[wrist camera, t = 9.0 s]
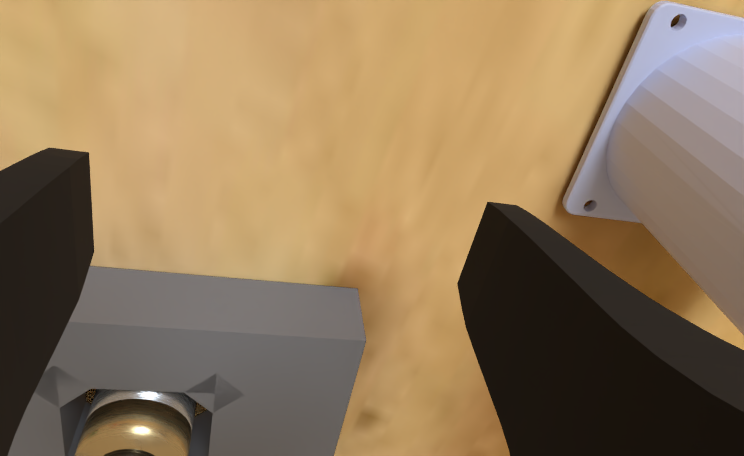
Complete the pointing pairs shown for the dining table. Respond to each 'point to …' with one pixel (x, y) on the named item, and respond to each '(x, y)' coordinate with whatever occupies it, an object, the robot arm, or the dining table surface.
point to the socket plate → (205, 361)
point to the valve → (138, 424)
